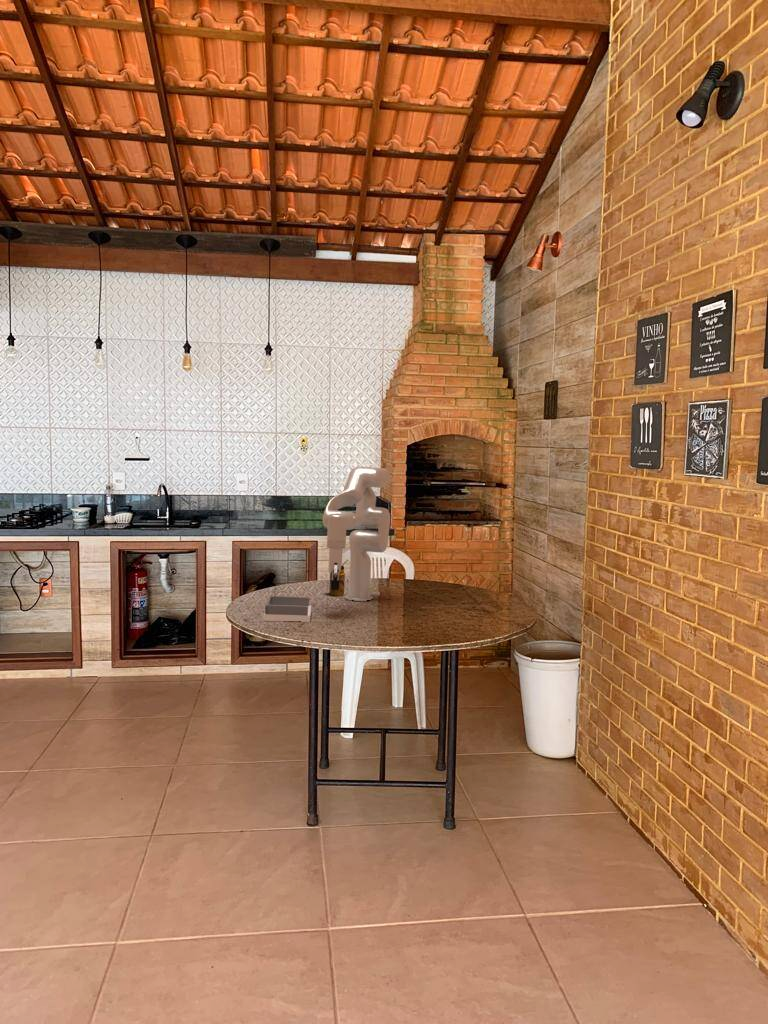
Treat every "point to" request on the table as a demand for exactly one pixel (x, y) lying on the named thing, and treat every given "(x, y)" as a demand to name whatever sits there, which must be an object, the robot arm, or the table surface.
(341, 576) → the condiment
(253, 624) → the table surface
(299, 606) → the dock
